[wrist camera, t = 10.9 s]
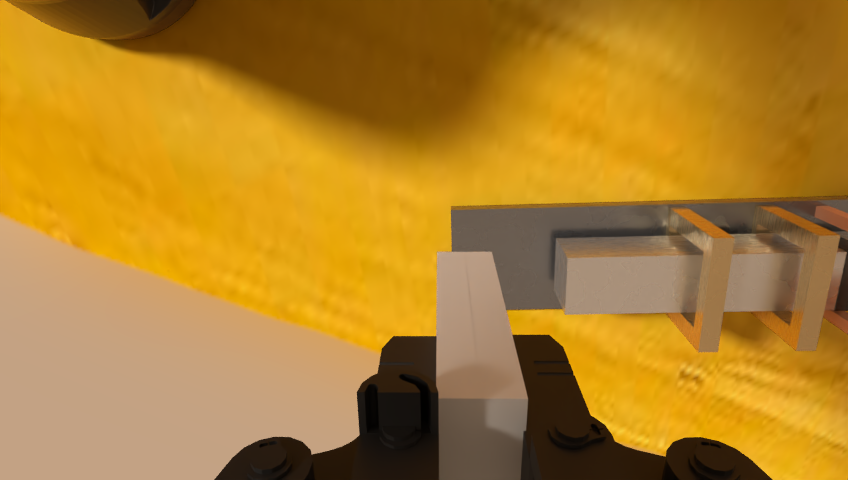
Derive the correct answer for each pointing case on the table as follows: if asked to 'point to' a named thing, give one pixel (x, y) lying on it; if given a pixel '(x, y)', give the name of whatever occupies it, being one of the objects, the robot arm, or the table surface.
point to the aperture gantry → (844, 221)
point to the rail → (694, 219)
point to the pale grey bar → (683, 274)
